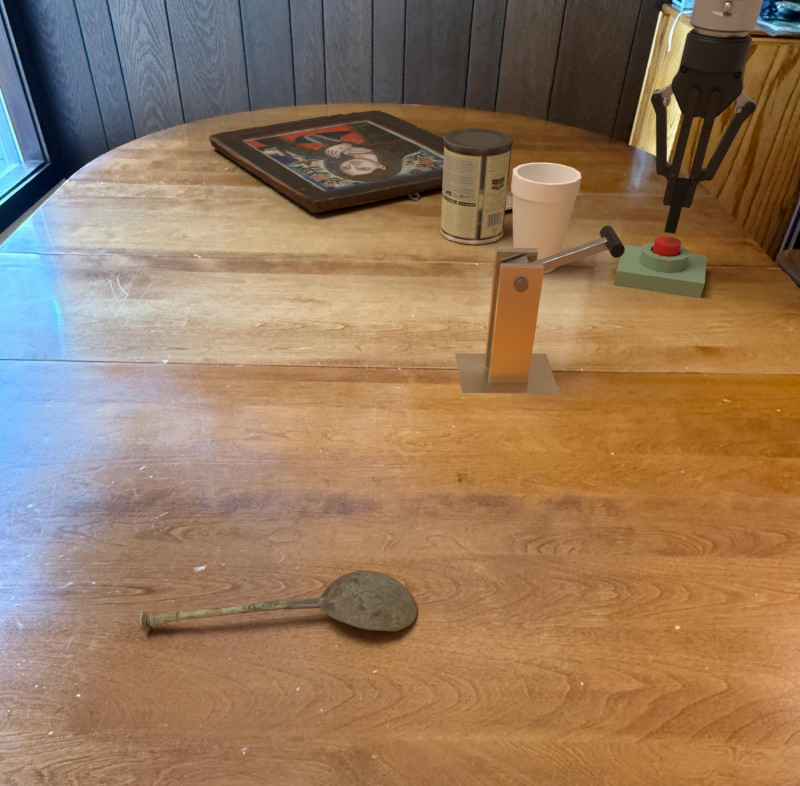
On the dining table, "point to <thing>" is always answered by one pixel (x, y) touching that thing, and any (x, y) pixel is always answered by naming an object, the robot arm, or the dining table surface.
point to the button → (666, 246)
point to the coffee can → (475, 185)
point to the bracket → (510, 333)
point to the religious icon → (339, 158)
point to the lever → (580, 251)
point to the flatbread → (509, 203)
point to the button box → (661, 271)
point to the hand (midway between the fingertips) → (670, 229)
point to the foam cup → (543, 205)
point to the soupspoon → (329, 604)
